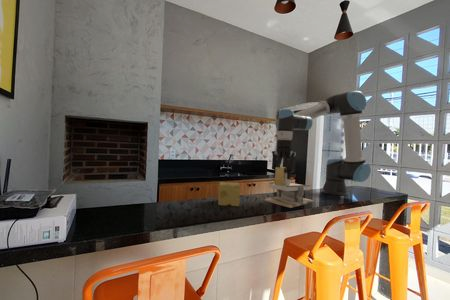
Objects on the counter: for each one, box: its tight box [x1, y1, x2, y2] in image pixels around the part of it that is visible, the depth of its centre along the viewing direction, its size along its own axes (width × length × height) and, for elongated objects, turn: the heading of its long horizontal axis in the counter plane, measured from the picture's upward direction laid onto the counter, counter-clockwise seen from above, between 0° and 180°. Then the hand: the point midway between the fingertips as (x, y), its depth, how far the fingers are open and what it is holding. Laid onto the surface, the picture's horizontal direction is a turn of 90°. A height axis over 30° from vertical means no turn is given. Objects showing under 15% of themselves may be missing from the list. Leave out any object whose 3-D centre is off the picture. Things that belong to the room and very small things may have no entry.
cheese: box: [217, 181, 241, 207], centre depth 115 cm, size 10×11×10 cm
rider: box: [274, 166, 291, 186], centre depth 120 cm, size 6×5×9 cm
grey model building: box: [268, 181, 311, 195], centre depth 125 cm, size 22×11×6 cm, turn 132°
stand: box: [264, 187, 314, 209], centre depth 125 cm, size 22×16×9 cm
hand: (282, 184), depth 120 cm, fingers closed on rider, 5 cm apart
